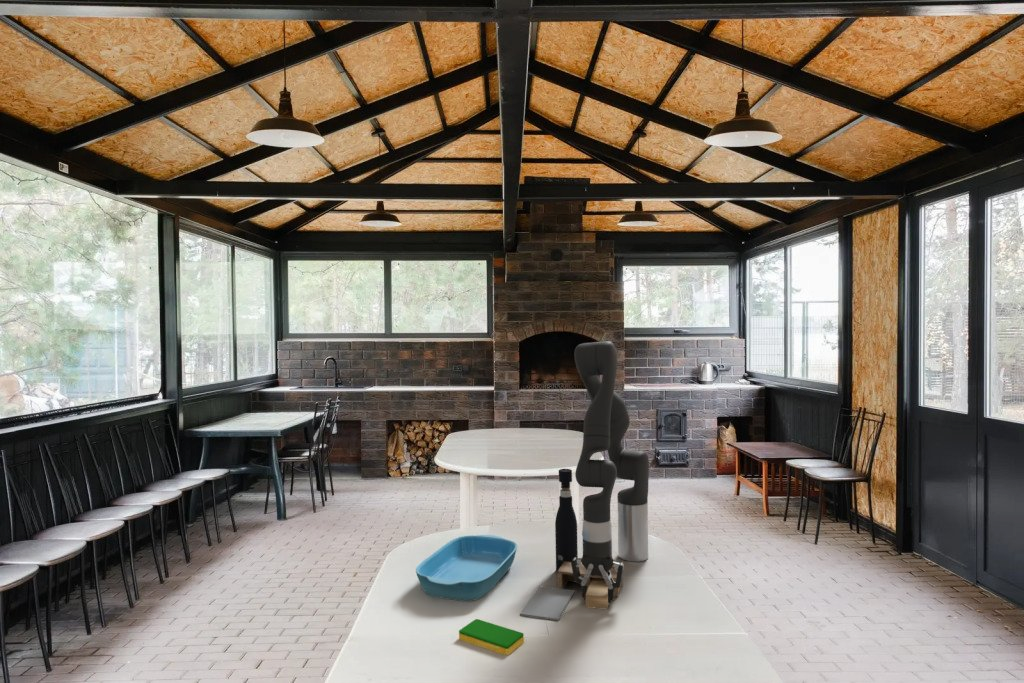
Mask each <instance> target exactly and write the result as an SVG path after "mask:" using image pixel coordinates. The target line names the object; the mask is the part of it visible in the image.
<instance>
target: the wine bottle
mask: <svg viewBox="0 0 1024 683" xmlns="http://www.w3.org/2000/svg"><path fill="white" fill-rule="evenodd" d="M572 474H573V470H572V469H571V468H560V469H558V482H559V483H560V486H561V487H560V488H561V489H560V491H559V497H558V498H559V500H558V502H559V503H558V504H559V505H558V508H557V513H556V515H555V523H554V524H555V526H554V528H555V534H554V535H555V571H556V573H557V574H558V570H559V568H560V567H561V565H562V564H563V562H564V561H566V562H571V561H572V559H573V558H574V557H576V558H579V557H578V549H579V548H578V520H577V517H576V512H575V509H574V507H573V496H572V490H571V489H570V488H571V483H572V481H573V475H572Z"/></svg>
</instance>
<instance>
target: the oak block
mask: <svg viewBox="0 0 1024 683" xmlns="http://www.w3.org/2000/svg"><path fill="white" fill-rule="evenodd" d="M613 581H614V580H613ZM609 605H610V603H608V585H607V583H606V582H605V580H604V579H602V578H594V577H592V580H591V582H590V585H589V587H588V590H587V592H586V600H585V608H590V607H595V608H594V609H599V608H605V609H604V610H608V608H609Z"/></svg>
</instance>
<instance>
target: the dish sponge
mask: <svg viewBox="0 0 1024 683" xmlns="http://www.w3.org/2000/svg"><path fill="white" fill-rule="evenodd" d="M524 636H525V634H524V632H521V631H518V630H515V629H512V628H508V627H505V626H502V625H498V624H496V623H495V624H494V623H492V622H489V621H485V620H482V619H478V618H476V619H474V620H472V621H471V622H469V623H468V624H466V625H465V626H463V627H462V628H461V629H459V630H458V640H459V641H460V640H461V641H462V642H466V643H468V644H470V645H471V644H472V645H474V646H478V647H480V648H484V649H487V650H490V651H492V652H496V653H499V654H502V655H505V656H508V655H510V654H511V653H513V652H514V651H515V650H516V649H517V648H518V647H520V646H521V645H522V644H523V643H524V642H525V641H524V640H525V638H524Z"/></svg>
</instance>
